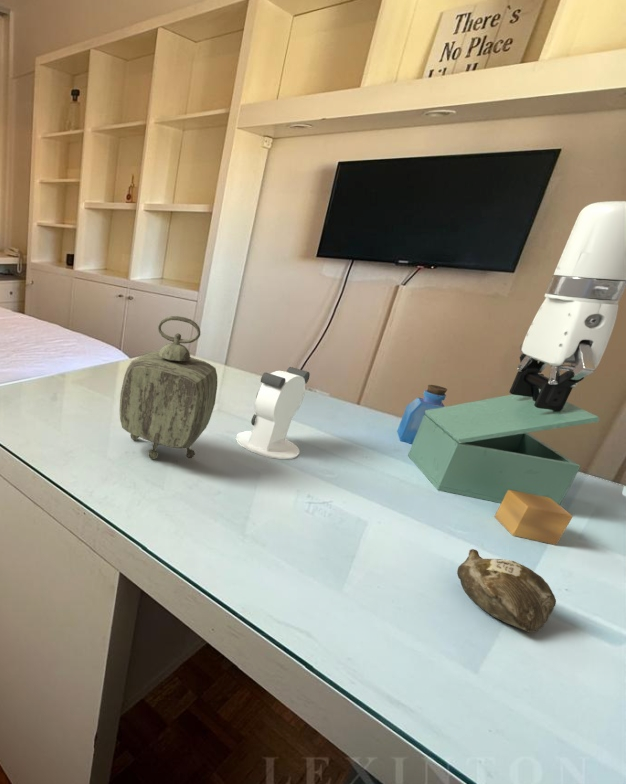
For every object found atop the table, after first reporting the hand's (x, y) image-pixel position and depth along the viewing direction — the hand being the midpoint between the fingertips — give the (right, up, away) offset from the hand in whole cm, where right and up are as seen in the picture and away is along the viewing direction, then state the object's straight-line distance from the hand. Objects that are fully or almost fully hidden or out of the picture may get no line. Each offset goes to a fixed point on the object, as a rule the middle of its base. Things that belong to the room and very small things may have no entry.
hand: (534, 400), depth 74 cm
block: (-9, -19, -7) cm, 22 cm away
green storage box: (-4, -15, +7) cm, 16 cm away
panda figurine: (-36, -9, +15) cm, 40 cm away
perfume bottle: (-1, -9, +23) cm, 24 cm away
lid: (-3, -3, +2) cm, 5 cm away
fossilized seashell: (-28, -23, -21) cm, 43 cm away
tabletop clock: (-60, -10, +8) cm, 62 cm away
